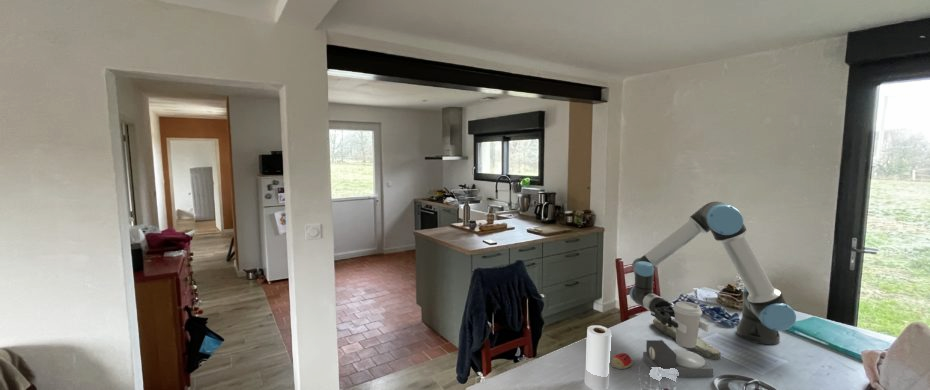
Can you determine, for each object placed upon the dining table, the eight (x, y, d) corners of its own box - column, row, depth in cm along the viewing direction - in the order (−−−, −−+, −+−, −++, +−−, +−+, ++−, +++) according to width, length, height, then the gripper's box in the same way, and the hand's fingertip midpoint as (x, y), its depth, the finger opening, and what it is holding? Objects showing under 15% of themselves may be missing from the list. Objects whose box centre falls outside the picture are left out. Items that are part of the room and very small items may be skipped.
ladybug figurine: (606, 365, 147) (606, 356, 147) (619, 356, 154) (620, 348, 153) (623, 372, 142) (623, 363, 142) (636, 363, 148) (636, 354, 148)
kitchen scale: (694, 359, 150) (695, 339, 150) (713, 376, 138) (714, 355, 138) (642, 359, 151) (643, 339, 150) (656, 376, 139) (657, 355, 138)
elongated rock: (706, 365, 149) (727, 363, 151) (708, 352, 148) (729, 350, 151) (646, 323, 183) (663, 322, 185) (647, 313, 182) (665, 312, 184)
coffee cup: (705, 351, 138) (707, 311, 137) (676, 348, 140) (677, 309, 139) (695, 338, 147) (696, 301, 146) (668, 336, 149) (669, 299, 148)
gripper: (679, 312, 163) (721, 336, 140) (633, 315, 160) (669, 340, 137) (680, 295, 162) (722, 317, 139) (634, 298, 159) (670, 320, 137)
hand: (696, 328), depth 138 cm, fingers closed on coffee cup, 8 cm apart
